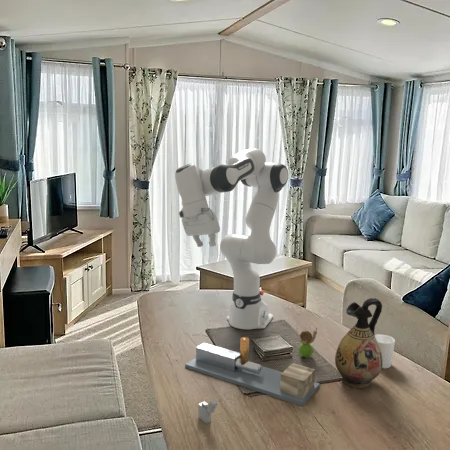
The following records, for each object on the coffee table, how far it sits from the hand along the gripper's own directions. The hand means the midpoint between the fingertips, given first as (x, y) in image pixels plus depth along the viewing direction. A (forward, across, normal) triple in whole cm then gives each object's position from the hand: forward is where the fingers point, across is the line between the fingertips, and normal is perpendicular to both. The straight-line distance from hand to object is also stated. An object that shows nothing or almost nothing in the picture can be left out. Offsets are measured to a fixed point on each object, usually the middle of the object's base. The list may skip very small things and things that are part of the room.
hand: (206, 246), depth 178 cm
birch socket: (+50, -28, -3) cm, 57 cm away
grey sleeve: (+41, -1, +9) cm, 42 cm away
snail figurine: (+51, -10, -23) cm, 57 cm away
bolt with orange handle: (+42, -6, +7) cm, 43 cm away
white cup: (+59, -28, -42) cm, 77 cm away
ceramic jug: (+57, -33, -25) cm, 70 cm away
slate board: (+46, -12, +4) cm, 48 cm away
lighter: (+45, -27, +30) cm, 60 cm away
